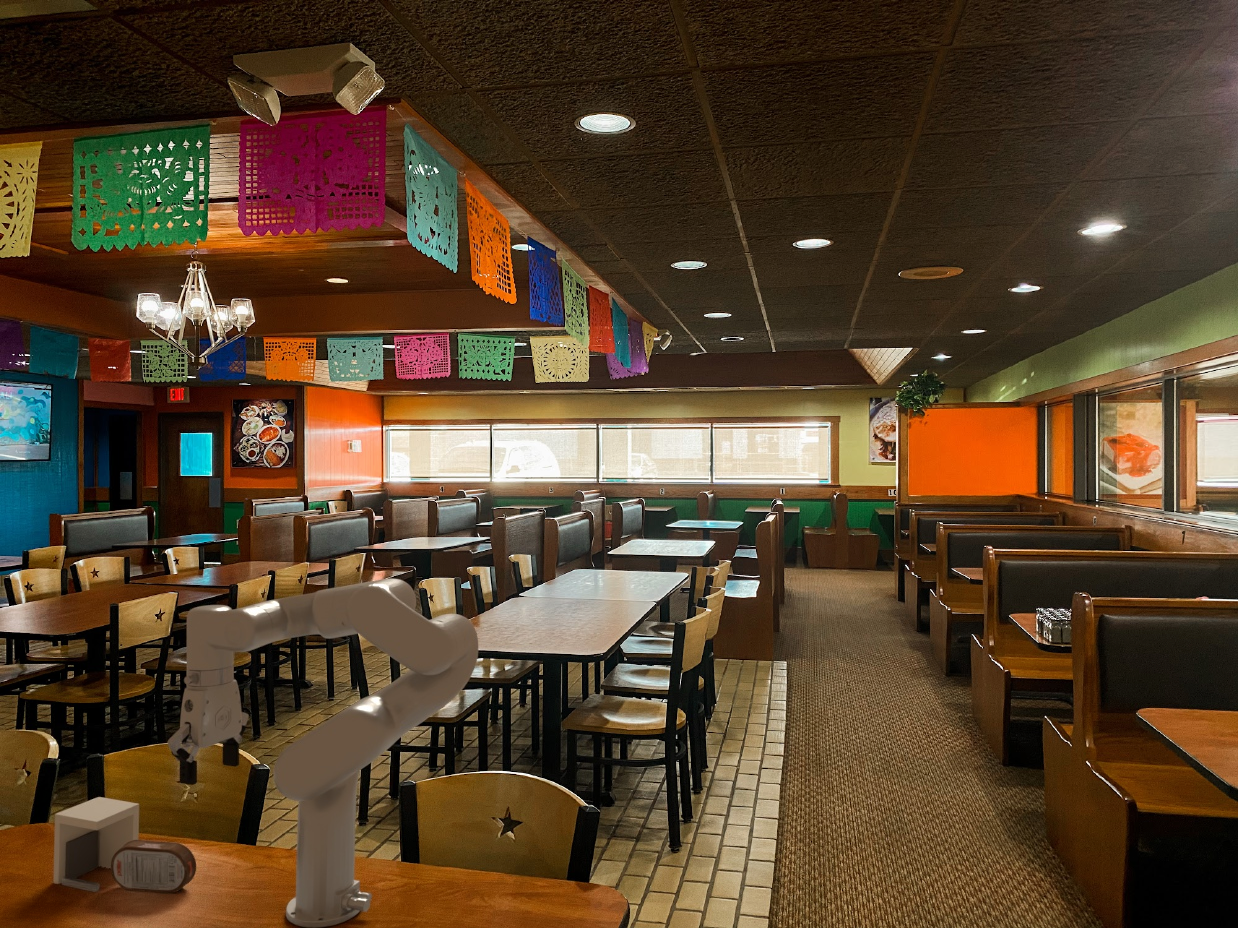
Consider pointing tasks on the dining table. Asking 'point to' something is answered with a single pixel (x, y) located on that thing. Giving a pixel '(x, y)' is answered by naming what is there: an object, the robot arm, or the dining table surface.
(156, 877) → the tin
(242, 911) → the dining table surface
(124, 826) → the white u-channel
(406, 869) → the dining table surface
